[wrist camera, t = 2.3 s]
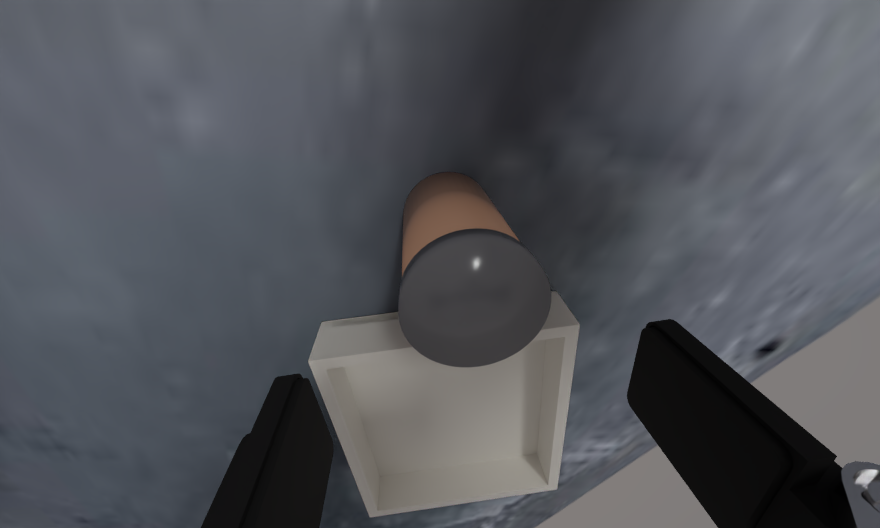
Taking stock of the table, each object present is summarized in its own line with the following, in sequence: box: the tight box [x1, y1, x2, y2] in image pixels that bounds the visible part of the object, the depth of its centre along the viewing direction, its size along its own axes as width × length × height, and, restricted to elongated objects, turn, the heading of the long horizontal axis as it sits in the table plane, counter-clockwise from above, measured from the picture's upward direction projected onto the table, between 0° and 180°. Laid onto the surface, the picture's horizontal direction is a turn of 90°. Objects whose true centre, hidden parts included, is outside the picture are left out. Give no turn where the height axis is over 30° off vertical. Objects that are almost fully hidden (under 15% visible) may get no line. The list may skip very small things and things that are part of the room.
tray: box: [308, 291, 580, 517], centre depth 25 cm, size 18×16×4 cm
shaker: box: [398, 172, 551, 367], centre depth 15 cm, size 5×5×9 cm
